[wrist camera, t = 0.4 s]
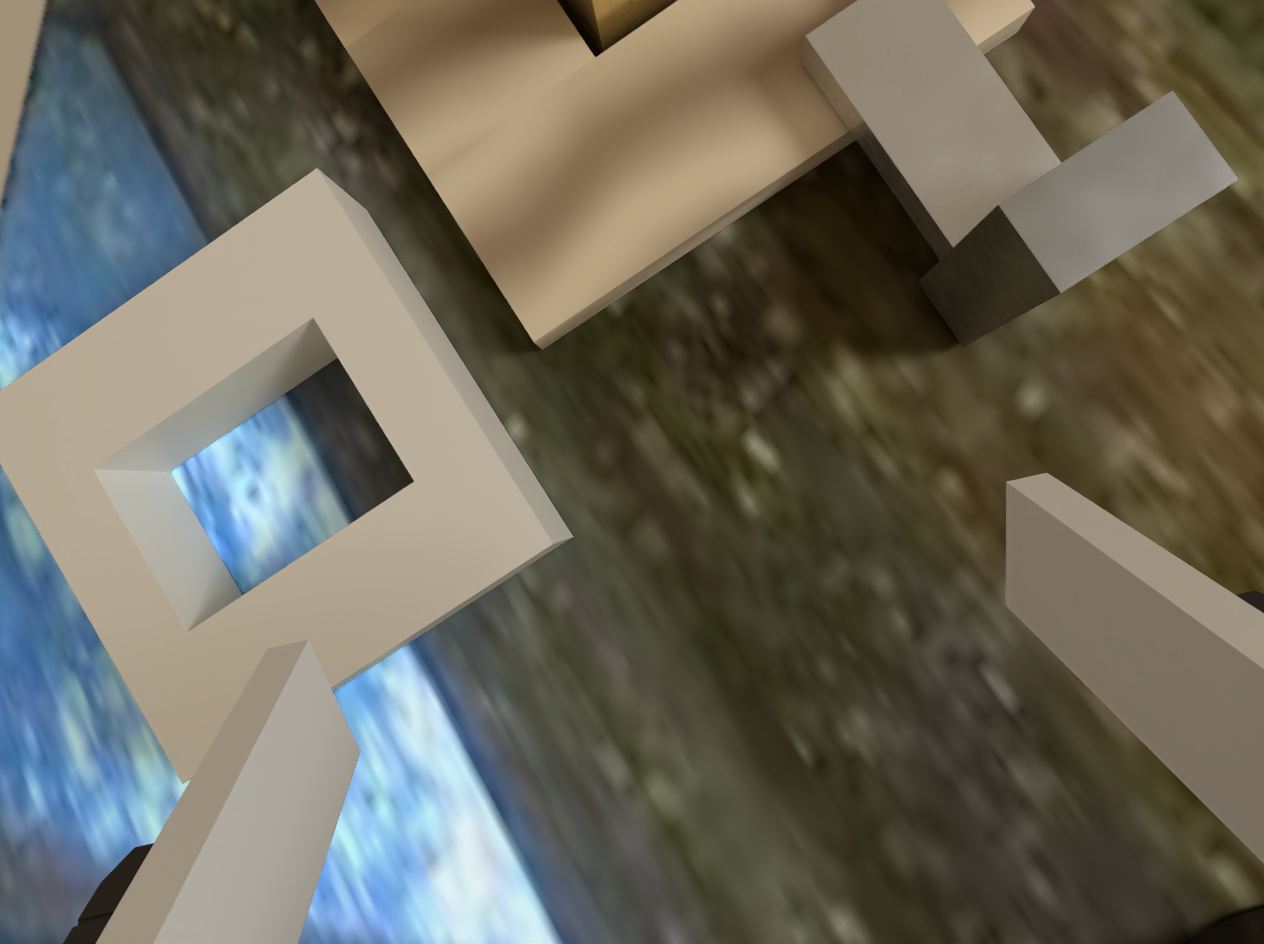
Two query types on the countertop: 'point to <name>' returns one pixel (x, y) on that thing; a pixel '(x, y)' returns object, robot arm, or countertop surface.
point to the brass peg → (615, 17)
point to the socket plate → (604, 128)
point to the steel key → (998, 163)
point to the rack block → (223, 399)
